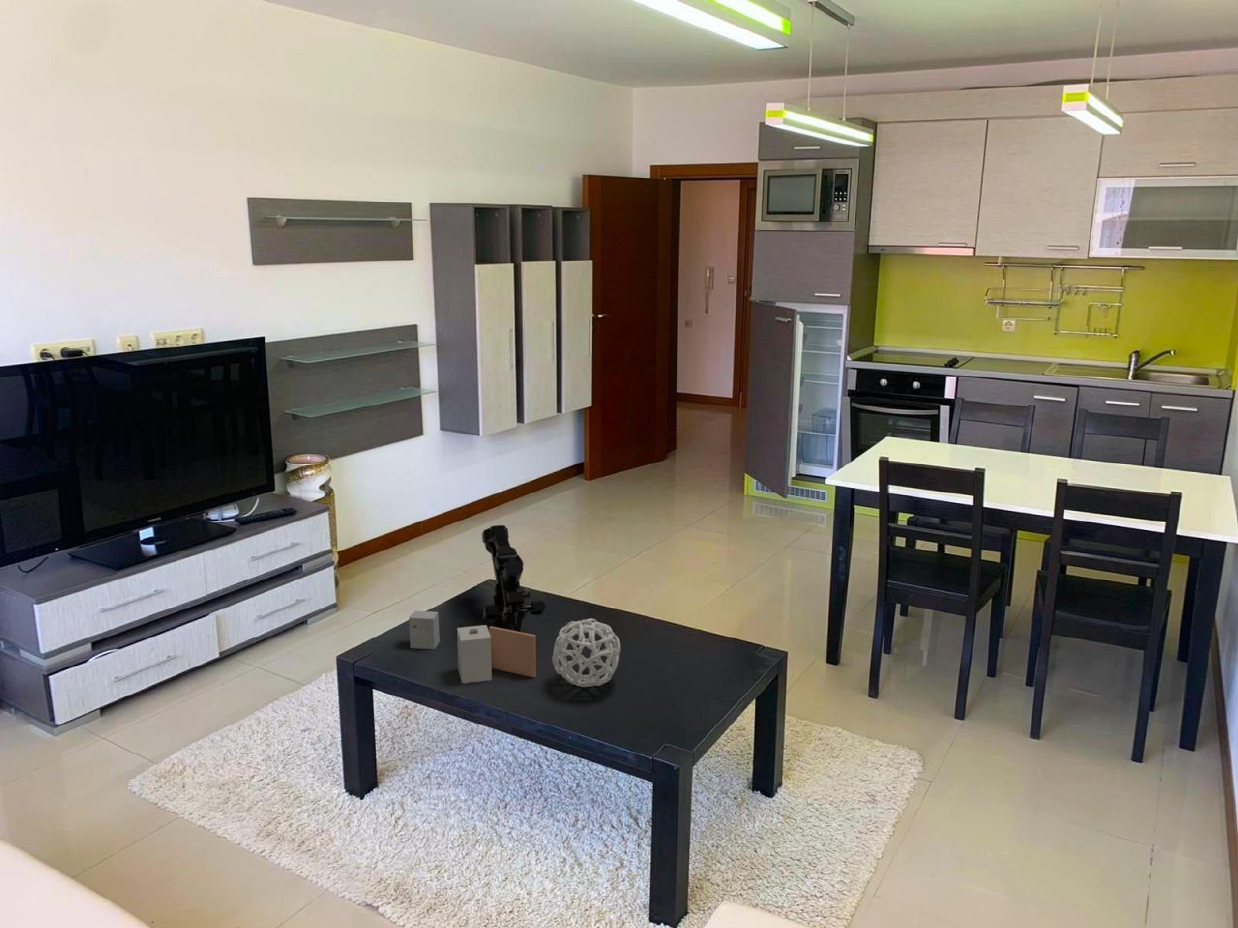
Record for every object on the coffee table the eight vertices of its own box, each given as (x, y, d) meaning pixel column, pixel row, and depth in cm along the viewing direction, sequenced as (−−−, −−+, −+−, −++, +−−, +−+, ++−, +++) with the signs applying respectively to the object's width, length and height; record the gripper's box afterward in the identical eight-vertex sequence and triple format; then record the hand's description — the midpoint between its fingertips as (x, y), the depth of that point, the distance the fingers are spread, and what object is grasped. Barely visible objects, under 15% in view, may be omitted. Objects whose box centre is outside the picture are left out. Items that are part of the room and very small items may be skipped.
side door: (491, 666, 277) (490, 626, 274) (535, 675, 272) (535, 635, 268) (489, 667, 276) (489, 627, 273) (534, 677, 271) (533, 636, 268)
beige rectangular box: (457, 667, 276) (456, 623, 272) (486, 664, 278) (485, 620, 275) (462, 683, 267) (461, 638, 263) (491, 680, 269) (491, 634, 265)
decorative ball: (541, 694, 261) (541, 632, 256) (564, 664, 280) (564, 605, 275) (609, 705, 256) (610, 641, 251) (627, 673, 274) (629, 614, 270)
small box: (440, 642, 293) (439, 611, 291) (435, 649, 288) (433, 618, 285) (415, 640, 294) (414, 610, 291) (410, 648, 288) (408, 617, 286)
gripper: (484, 581, 281) (490, 630, 273) (544, 576, 286) (551, 623, 279) (480, 595, 290) (486, 642, 283) (539, 590, 295) (546, 636, 288)
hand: (517, 636), depth 283 cm, fingers closed
